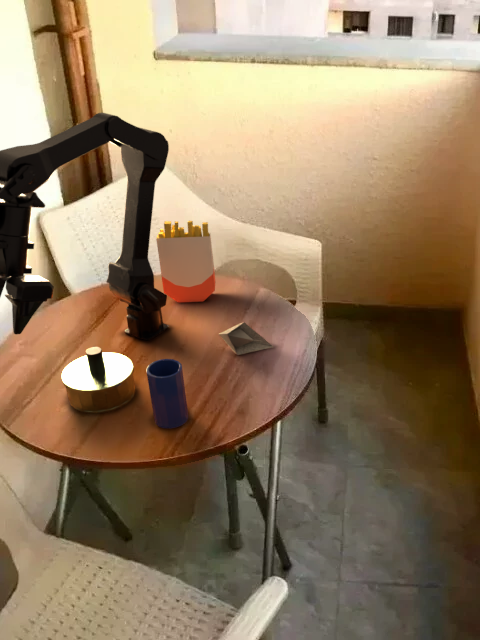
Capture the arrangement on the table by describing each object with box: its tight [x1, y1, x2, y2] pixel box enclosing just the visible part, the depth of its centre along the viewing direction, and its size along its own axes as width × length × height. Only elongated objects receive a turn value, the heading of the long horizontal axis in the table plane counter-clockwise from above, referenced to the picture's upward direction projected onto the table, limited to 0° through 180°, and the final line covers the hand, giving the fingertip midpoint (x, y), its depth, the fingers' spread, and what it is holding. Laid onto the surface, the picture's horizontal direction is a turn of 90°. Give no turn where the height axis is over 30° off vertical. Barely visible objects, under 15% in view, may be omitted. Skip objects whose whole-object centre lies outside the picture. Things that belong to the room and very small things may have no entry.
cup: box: [145, 358, 189, 429], centre depth 118 cm, size 6×6×10 cm
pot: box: [65, 373, 136, 415], centre depth 126 cm, size 11×11×4 cm
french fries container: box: [156, 220, 216, 303], centre depth 153 cm, size 5×11×18 cm, turn 95°
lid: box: [61, 346, 135, 393], centre depth 124 cm, size 12×12×5 cm
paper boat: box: [218, 321, 274, 356], centre depth 137 cm, size 12×6×9 cm
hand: (2, 325), depth 121 cm, fingers open, 9 cm apart
